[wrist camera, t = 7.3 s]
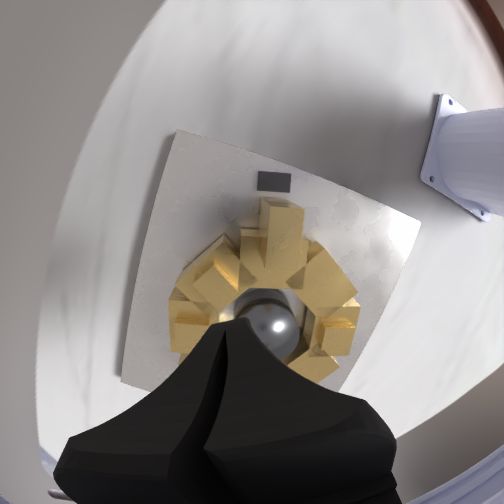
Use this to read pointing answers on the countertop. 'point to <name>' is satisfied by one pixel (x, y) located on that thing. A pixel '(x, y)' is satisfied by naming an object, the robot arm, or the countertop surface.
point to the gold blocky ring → (274, 277)
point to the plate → (229, 224)
